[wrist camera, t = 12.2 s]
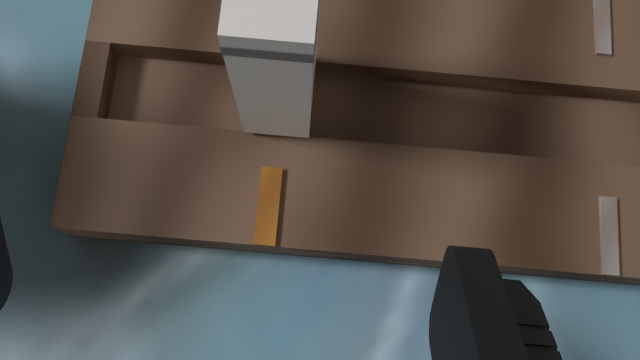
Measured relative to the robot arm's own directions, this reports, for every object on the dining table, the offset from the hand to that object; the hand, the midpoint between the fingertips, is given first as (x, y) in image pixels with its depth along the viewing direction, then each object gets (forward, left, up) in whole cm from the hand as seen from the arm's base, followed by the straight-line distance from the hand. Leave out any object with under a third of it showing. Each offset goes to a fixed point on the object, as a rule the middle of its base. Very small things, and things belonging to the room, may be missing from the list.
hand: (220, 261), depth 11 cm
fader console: (-4, -8, -14) cm, 16 cm away
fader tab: (0, -8, -12) cm, 15 cm away
